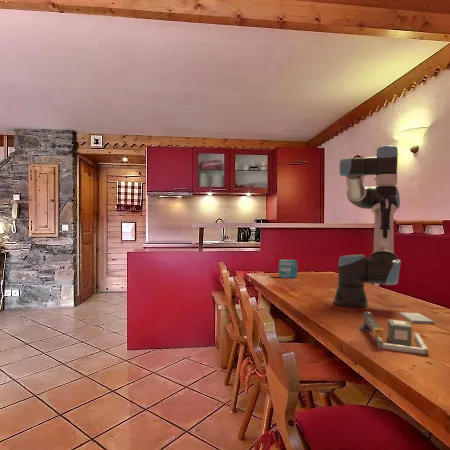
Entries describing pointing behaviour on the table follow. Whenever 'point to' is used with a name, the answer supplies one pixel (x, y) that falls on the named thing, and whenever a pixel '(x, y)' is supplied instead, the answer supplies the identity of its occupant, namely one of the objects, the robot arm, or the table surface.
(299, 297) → the table surface
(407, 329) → the panel
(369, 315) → the post
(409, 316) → the hard drive
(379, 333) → the cable arm
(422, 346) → the frame
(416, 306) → the table surface
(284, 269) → the data package
